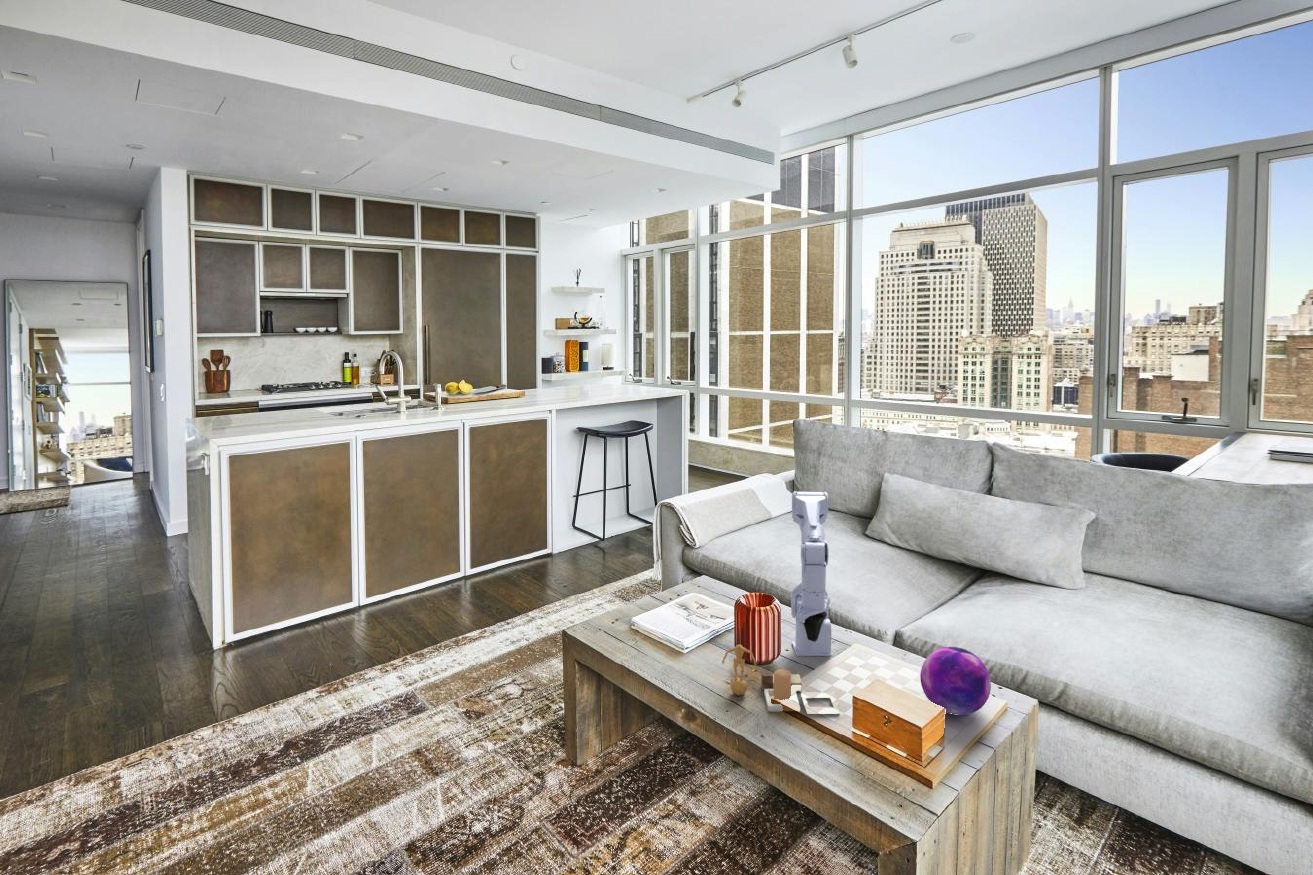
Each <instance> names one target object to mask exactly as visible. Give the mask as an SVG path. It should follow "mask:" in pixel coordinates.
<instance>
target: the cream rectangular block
mask: <svg viewBox="0 0 1313 875" xmlns="http://www.w3.org/2000/svg"><path fill="white" fill-rule="evenodd" d="M792 685H801V686H802V687H803V682H802V678H801V675H800V674H799V673H798V674H792V673H791V686H792ZM773 689H774V674H773Z"/></svg>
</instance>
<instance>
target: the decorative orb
mask: <svg viewBox="0 0 1313 875" xmlns="http://www.w3.org/2000/svg"><path fill="white" fill-rule="evenodd" d="M990 676H991V675H990V673H989V671H988V668H987V667H986V664H984V662H983V661H982V660H981V659H980V658H979V657H978V656H977V655H976V654H974V653H973V652H971V651H969V650H967V649H965V648H961V647H957V646H946V647H941V648H938V649H936V650H934V651H932V652H931V653H930V654H929V655H928V656H927V657H926V659H925V660H924V661H923V664H922V666H921V670H920V684H921V688H922V690H923V693H924V695H925V697H926V698H927V699H928V700H930V701H931V702H933V703H935V704H937V705H940V706H942V707H944V708H945V709H946V712H948V713H952V714H959V715H958V716H967V715H966V714H968V715H971V714H974V713H976V712H977V711H980V709H982V707H984V705H985V704H986V703H987V702H988V699H990V698H989V697H990V694H991V690H992V683H991V682H992V681H991V677H990ZM930 701H929V702H930ZM931 702H930V703H931ZM946 712H945V713H946ZM948 713H947V714H948ZM952 714H951V715H952Z"/></svg>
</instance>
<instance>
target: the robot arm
mask: <svg viewBox="0 0 1313 875" xmlns="http://www.w3.org/2000/svg"><path fill="white" fill-rule="evenodd" d="M828 513H829V494H828V492H827V491H796V490H793V492H792V493H791V517H792V521H793V522H794V523H796V524H797V525H798V526H799V529H800V533H801V534H800V535H801V545H800V562H801V582H800V583H799V584H797V586H795V587H793V589H792V591H791V597H790V599H791V600H790V602H791V603H790V610H791V611H790V613H791V614H790V616H791V618H792V619H795V640H793V641H791V644H792V646H793V651H794V652H795V656H797V657H822V656H823V657H829V656H830V657H832V623H831V620H830V619H829V610H830V609H829V605H830V602H831V601H830V600H831V597H829V596H828V595H829V594H828V592H827V589H826V584H827V583H826V582H827V575H826V574H827V566H828V565H829V564H828V563H829V560H830V558H829V557H830V556H829V545H828V541H827V540H826V538H825V529H824V526H823V525H822V524H824V523H826V520H827V519H828Z"/></svg>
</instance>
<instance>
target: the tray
mask: <svg viewBox="0 0 1313 875" xmlns="http://www.w3.org/2000/svg"><path fill="white" fill-rule="evenodd" d="M763 695H764V700H765V704H766V708H767V712H768V713H769V712H770V713H772V712H773V713H782V711H783V708H782V707H783V706H782V705H781V704H772V703H771V698H772V697H773V696H774V689H764V691H763Z"/></svg>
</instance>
